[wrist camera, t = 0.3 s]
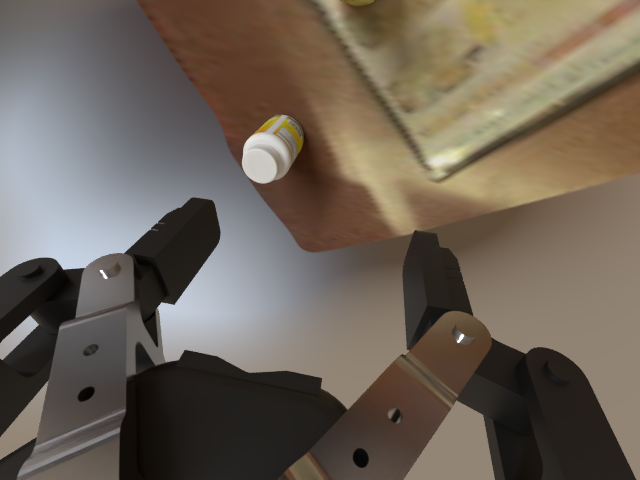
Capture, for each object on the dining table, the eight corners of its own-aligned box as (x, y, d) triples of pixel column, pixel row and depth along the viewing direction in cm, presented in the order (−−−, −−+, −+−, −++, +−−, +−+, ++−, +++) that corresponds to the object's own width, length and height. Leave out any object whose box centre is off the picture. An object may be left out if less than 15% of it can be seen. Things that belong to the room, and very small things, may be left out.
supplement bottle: (262, 148, 40) (232, 181, 32) (268, 107, 37) (235, 133, 29) (300, 160, 40) (279, 196, 32) (309, 121, 37) (288, 151, 29)
